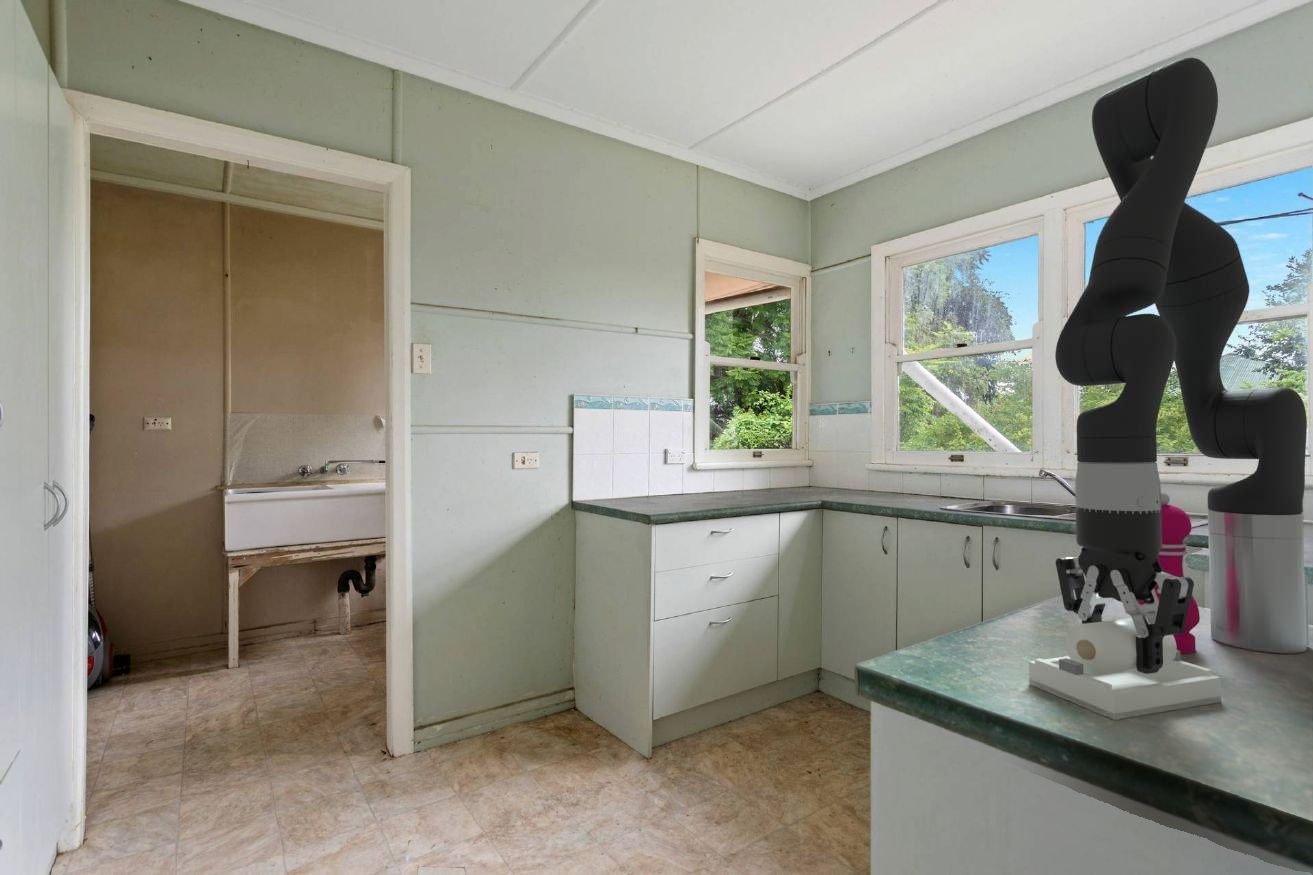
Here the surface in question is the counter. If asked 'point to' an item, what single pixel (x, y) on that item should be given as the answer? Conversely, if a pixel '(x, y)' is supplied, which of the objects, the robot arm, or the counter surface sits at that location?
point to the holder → (1127, 687)
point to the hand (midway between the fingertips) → (1120, 662)
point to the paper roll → (1109, 646)
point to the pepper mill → (1176, 564)
